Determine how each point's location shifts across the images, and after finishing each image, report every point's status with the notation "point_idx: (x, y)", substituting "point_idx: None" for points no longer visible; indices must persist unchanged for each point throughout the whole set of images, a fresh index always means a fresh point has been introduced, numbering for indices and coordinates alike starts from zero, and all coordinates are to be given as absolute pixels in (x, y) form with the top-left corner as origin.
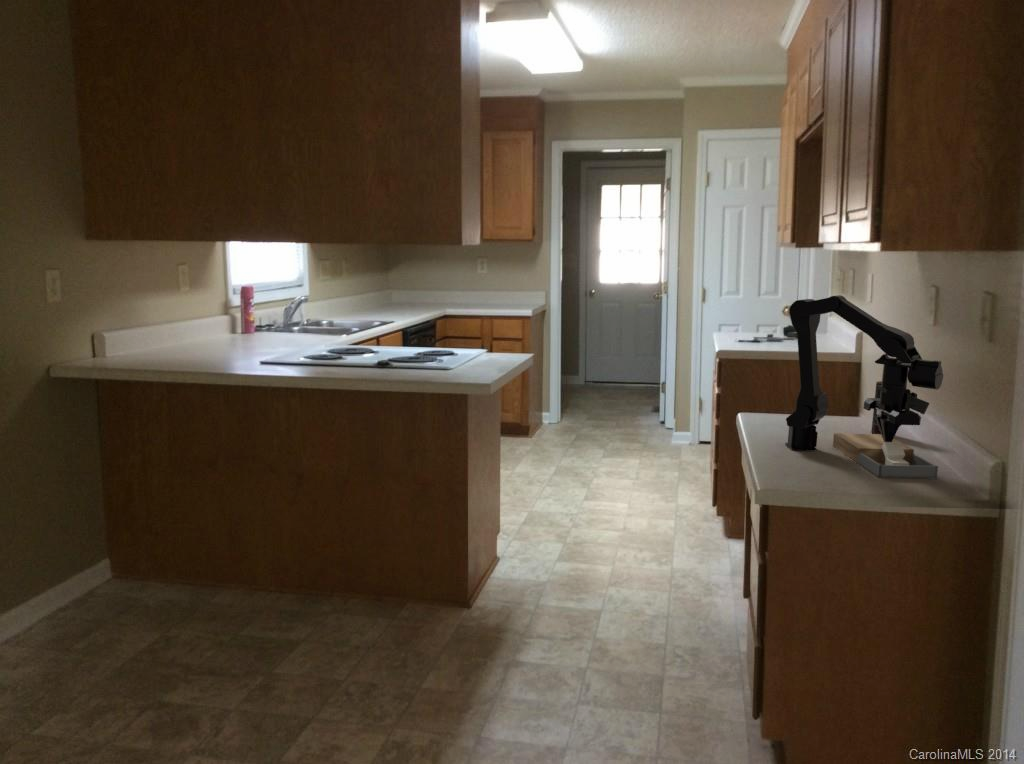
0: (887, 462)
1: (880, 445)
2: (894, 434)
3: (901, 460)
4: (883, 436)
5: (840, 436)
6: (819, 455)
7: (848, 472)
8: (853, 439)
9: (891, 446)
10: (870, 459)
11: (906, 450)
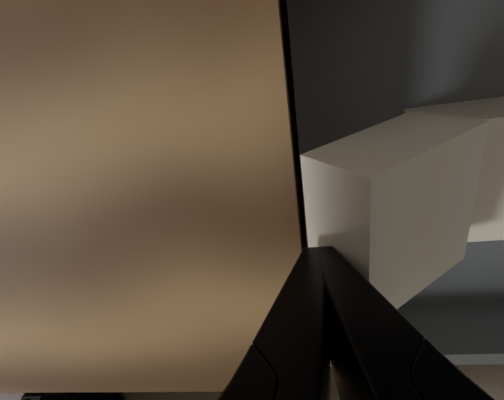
0: None
1: (182, 244)
2: (412, 335)
3: (486, 147)
4: (334, 375)
5: (18, 388)
6: (186, 394)
7: (469, 378)
8: (61, 351)
9: (409, 259)
10: (501, 362)
11: (281, 35)
